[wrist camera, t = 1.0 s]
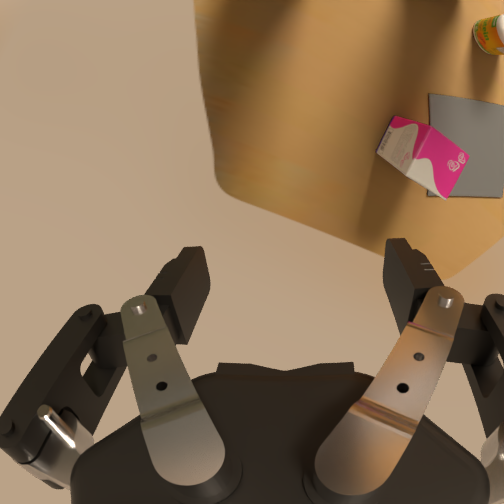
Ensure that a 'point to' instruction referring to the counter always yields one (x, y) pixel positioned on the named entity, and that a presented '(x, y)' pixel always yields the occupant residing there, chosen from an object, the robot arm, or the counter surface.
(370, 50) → the counter surface
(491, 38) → the supplement bottle
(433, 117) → the rubber mat
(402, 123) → the supplement box
